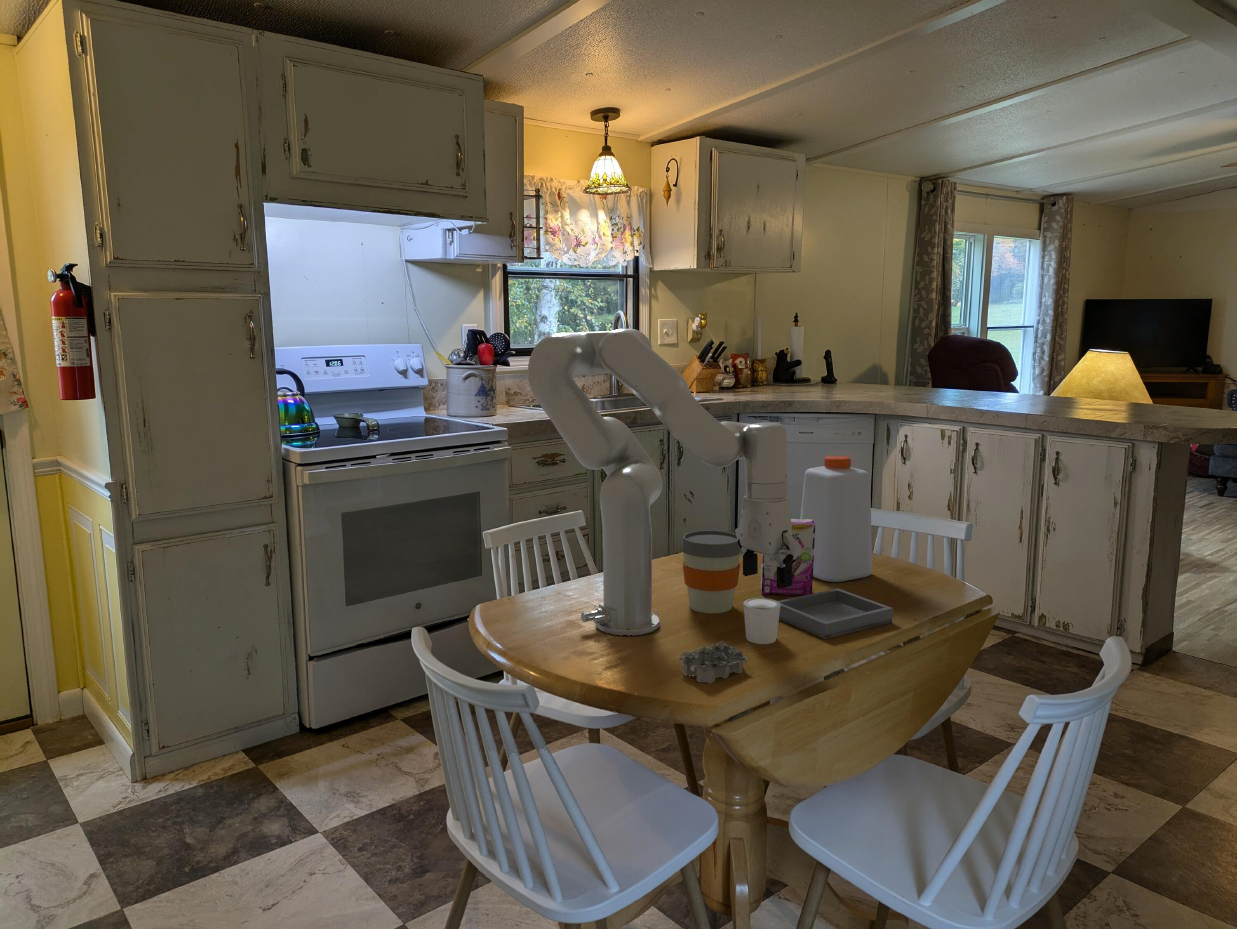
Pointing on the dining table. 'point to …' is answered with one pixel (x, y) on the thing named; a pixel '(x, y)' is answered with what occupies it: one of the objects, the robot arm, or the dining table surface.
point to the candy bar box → (800, 570)
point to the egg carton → (713, 662)
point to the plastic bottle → (839, 519)
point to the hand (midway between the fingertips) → (767, 580)
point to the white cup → (761, 620)
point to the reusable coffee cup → (711, 569)
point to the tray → (833, 613)
